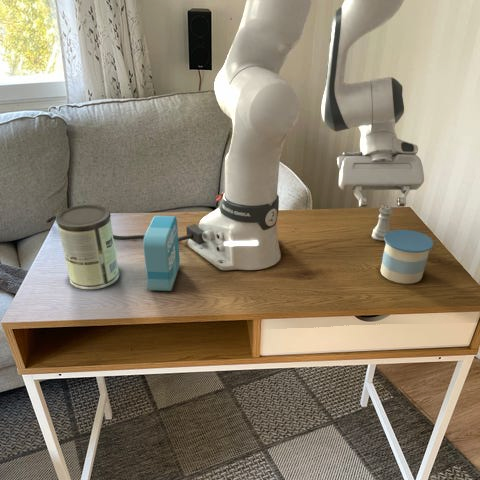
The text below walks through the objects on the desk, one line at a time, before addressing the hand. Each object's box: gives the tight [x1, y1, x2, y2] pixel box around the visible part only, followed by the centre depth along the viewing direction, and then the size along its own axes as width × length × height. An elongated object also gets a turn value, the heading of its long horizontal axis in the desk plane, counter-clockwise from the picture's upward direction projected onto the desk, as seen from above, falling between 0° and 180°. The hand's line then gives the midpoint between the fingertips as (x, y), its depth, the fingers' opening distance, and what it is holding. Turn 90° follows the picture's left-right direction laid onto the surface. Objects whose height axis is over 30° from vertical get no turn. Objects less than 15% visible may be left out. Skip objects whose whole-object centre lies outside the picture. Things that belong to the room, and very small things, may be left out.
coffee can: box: [55, 204, 120, 291], centre depth 101 cm, size 10×10×14 cm
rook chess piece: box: [371, 204, 394, 242], centre depth 120 cm, size 4×4×8 cm
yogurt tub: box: [380, 229, 434, 285], centre depth 106 cm, size 10×10×8 cm
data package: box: [142, 215, 181, 292], centre depth 102 cm, size 12×4×12 cm, turn 176°
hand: (382, 205), depth 120 cm, fingers open, 8 cm apart
